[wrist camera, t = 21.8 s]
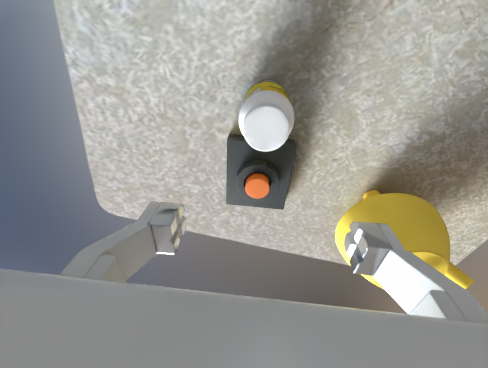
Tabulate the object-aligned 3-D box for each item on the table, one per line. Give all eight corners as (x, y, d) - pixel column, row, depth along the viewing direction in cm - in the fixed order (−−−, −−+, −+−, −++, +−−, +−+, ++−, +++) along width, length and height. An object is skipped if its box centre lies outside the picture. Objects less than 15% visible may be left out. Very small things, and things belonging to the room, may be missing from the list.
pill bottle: (297, 107, 31) (310, 136, 22) (261, 133, 33) (260, 169, 24) (271, 68, 28) (274, 82, 19) (235, 99, 31) (222, 124, 22)
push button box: (229, 134, 34) (225, 144, 31) (294, 139, 33) (298, 150, 30) (228, 196, 40) (224, 210, 37) (282, 201, 40) (284, 216, 37)
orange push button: (246, 171, 33) (245, 177, 32) (270, 173, 33) (270, 179, 31) (245, 190, 35) (244, 197, 34) (267, 193, 35) (268, 199, 33)
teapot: (465, 209, 38) (553, 283, 26) (398, 261, 46) (441, 334, 35) (367, 166, 35) (416, 228, 23) (313, 230, 43) (331, 299, 32)
